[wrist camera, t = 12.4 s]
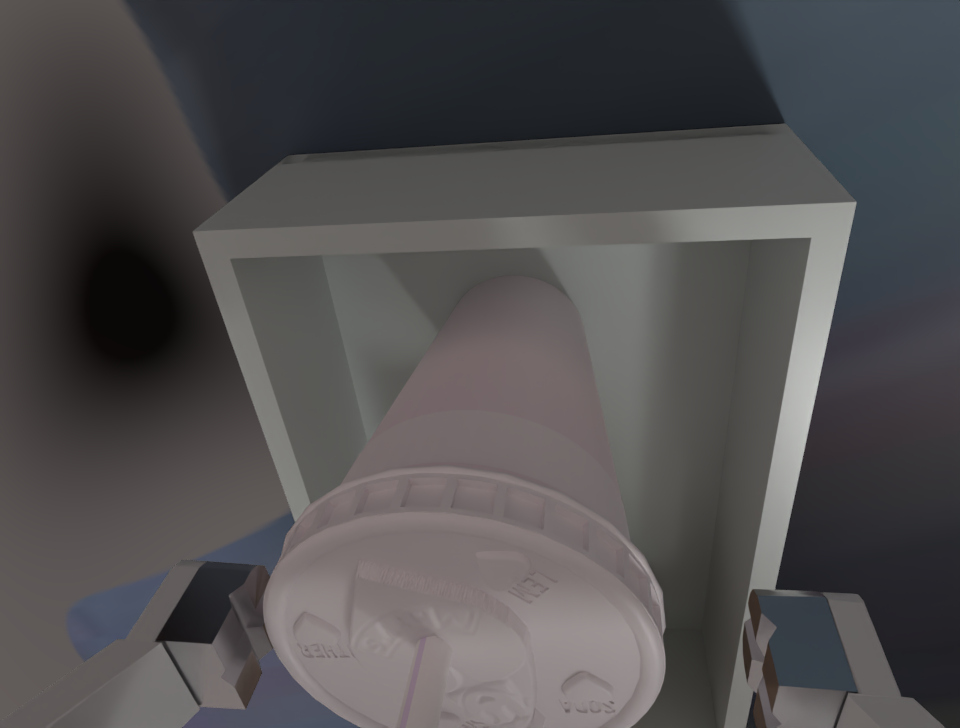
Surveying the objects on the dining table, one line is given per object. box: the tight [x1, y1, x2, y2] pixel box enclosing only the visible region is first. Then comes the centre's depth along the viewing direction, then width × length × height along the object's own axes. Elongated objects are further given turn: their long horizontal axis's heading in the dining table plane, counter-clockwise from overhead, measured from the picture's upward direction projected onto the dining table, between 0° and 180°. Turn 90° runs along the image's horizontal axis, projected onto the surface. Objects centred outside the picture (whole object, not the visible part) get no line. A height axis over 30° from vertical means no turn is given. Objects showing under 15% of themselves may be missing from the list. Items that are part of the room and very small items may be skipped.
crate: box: [192, 124, 857, 728], centre depth 19 cm, size 18×12×5 cm, turn 6°
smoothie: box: [263, 275, 666, 728], centre depth 13 cm, size 6×6×14 cm
